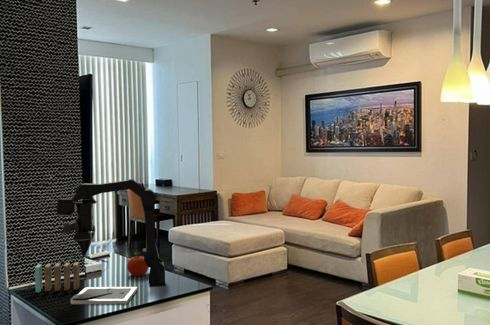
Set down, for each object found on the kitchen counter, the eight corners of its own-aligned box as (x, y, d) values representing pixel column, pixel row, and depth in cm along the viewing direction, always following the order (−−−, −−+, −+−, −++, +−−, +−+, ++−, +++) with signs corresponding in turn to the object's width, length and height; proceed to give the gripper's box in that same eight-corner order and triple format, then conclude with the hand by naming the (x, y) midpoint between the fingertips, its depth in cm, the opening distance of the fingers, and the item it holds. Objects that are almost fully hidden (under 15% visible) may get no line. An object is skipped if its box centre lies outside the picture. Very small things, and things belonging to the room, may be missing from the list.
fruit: (130, 279, 204) (130, 256, 203) (124, 274, 212) (124, 252, 212) (152, 276, 209) (151, 253, 208) (145, 271, 217) (144, 249, 216)
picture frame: (70, 306, 173) (126, 305, 172) (70, 298, 173) (126, 298, 172) (85, 292, 188) (137, 292, 188) (85, 285, 188) (137, 285, 188)
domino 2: (51, 287, 193) (51, 263, 192) (49, 291, 188) (48, 266, 187) (47, 288, 192) (47, 263, 192) (45, 291, 188) (44, 266, 187)
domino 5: (79, 285, 195) (78, 261, 195) (77, 289, 190) (77, 265, 190) (75, 286, 195) (74, 262, 194) (73, 289, 190) (73, 265, 189)
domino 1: (42, 288, 192) (41, 264, 192) (39, 292, 187) (39, 267, 187) (38, 288, 192) (37, 264, 191) (35, 292, 187) (34, 267, 186)
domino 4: (70, 286, 194) (69, 262, 194) (68, 290, 189) (67, 265, 189) (66, 286, 194) (65, 262, 194) (64, 290, 189) (63, 265, 189)
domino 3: (61, 287, 194) (60, 263, 193) (59, 290, 189) (58, 266, 188) (57, 287, 193) (56, 263, 193) (54, 291, 188) (54, 266, 188)
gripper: (67, 212, 197) (68, 249, 197) (59, 219, 178) (60, 260, 179) (95, 211, 199) (95, 247, 199) (90, 218, 181) (90, 258, 181)
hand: (85, 253), depth 190 cm, fingers open, 9 cm apart
